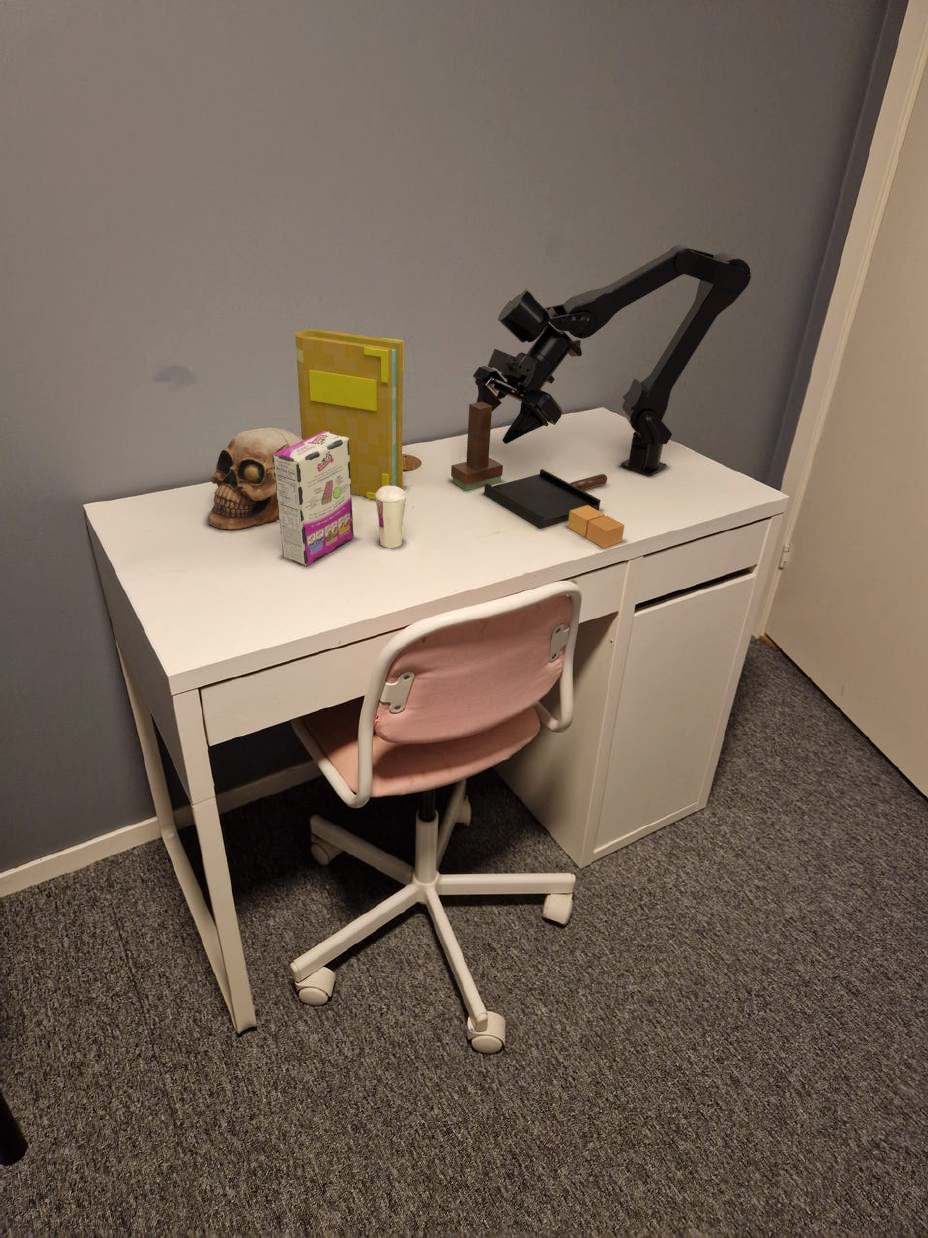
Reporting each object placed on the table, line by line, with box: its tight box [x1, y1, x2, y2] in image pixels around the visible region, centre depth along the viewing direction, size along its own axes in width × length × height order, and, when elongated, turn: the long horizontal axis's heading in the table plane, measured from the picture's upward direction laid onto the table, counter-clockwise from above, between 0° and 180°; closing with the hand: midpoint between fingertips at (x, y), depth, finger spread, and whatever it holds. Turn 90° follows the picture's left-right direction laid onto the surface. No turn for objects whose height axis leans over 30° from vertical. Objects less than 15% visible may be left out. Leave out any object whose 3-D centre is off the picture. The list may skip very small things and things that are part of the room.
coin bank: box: [207, 427, 303, 530], centre depth 136 cm, size 16×17×13 cm
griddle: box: [483, 468, 608, 529], centre depth 147 cm, size 22×15×2 cm
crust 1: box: [567, 505, 606, 538], centre depth 136 cm, size 4×4×3 cm
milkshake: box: [375, 485, 412, 549], centre depth 127 cm, size 4×5×10 cm
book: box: [295, 328, 405, 501], centre depth 140 cm, size 17×7×25 cm, turn 71°
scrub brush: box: [450, 401, 504, 491], centre depth 147 cm, size 8×4×14 cm, turn 126°
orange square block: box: [585, 514, 625, 549], centre depth 134 cm, size 4×4×3 cm
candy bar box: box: [273, 431, 355, 567], centre depth 123 cm, size 11×5×16 cm, turn 148°
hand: (487, 433), depth 147 cm, fingers open, 9 cm apart
